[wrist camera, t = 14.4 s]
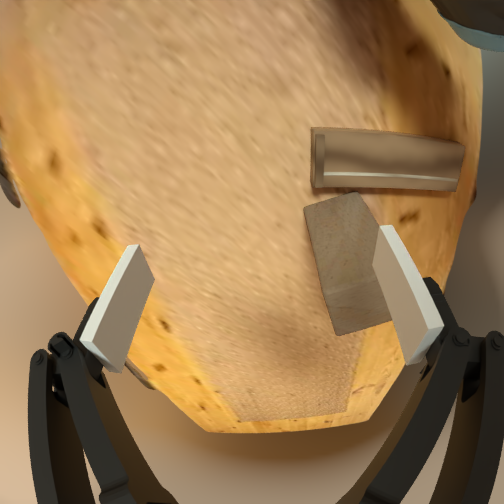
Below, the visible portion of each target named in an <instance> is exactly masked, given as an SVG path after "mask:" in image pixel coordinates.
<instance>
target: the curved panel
mask: <svg viewBox="0 0 504 504" xmlns="http://www.w3.org/2000/svg"><path fill="white" fill-rule="evenodd" d="M464 152H465V146H464V145H462V144H460V143H459V142H455V141H450V140H445V139H439V138H434V137H427V136H421V135H414V134H406V133H398V132H389V131H379V130H367V129H351V128H327V127H311V175H310V181H311V184H312V186H313V187H315V188H323V187H373V188H403V189H423V190H438V191H451V192H456V189H457V185H458V180H459V176H460V172H461V167H462V162H463V157H464Z"/></svg>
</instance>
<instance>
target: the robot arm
mask: <svg viewBox="0 0 504 504" xmlns="http://www.w3.org/2000/svg"><path fill="white" fill-rule="evenodd" d="M430 1H431V2H432V3H433V5H434V6H435V7H436V8H437V11H438V13H439V14H440V16H441V17H442V18H444V19H445V20H446V21H447V22H448V23H449V25H450V26H451V27H452V29H453V30H454V31H455V33H456V34H457V35H458V36H459V37H460V38H461V39H463V40H464V41H465V42H467V43H468V44H470V45H472V46H474V47H477V48H480V49H484V50H489V51H496V52H504V0H430ZM372 266H373V268H374V271H375V274H376V276H377V279H378V281H379V284H380V286H381V289H382V292H383V295H384V297H385V300H386V303H387V306H388V308H389V311H390V314H391V317H392V320H393V323H394V326H395V329H396V332H397V336H398V339H399V342H400V345H401V349H402V352H403V355H404V359H405V362H406V365H410V364H414V363H419V362H421V361H422V359H423V358H424V357H425V355H426V358H427V364H426V365H425V366H424V368H423V369H422V371H421V372H420V374H421V377H420V379H419V381H418V383H417V385H416V387H415V389H414V391H413V393H412V395H411V397H410V399H409V401H408V403H407V405H406V407H405V409H404V410H403V413H402V414H401V416H400V418H399V419H398V421H397V423H396V425H395V426H394V428H393V430H392V431H391V433H390V435H389V436H388V438H387V439H386V441H385V442H384V444H383V446H382V447H381V449H380V450H379V452H378V453H377V455H376V456H375V457H374V459H373V460H372V462H371V463H370V465H369V466H368V467H367V469H366V470H365V471H364V473H363V474H362V475H361V477H360V478H359V479H358V481H357V482H356V483H355V485H354V486H353V487H352V488H351V489H350V490H349V491H348V492H347V493H346V494H345V495H344V496H343V497H342V498H341V499H340V500H339V501H338V502H337V503H336V504H400V503H401V501H402V499H403V498H404V497H405V495H406V494H407V492H408V491H409V489H410V487H411V486H412V484H413V483H414V481H415V480H416V478H417V476H418V475H419V473H420V471H421V470H422V468H423V466H424V465H425V463H426V461H427V459H428V457H429V455H430V453H431V452H432V450H433V448H434V446H435V444H436V442H437V440H438V438H439V436H440V434H441V431H442V429H443V427H444V425H445V423H446V420H447V418H448V416H449V413H450V411H451V408H452V406H453V403H454V401H455V398H456V396H457V393H458V396H457V402H456V409H455V415H454V420H453V425H452V430H451V435H450V439H449V443H448V447H447V451H446V455H445V458H444V462H443V466H442V469H441V472H440V475H439V478H438V481H437V484H436V487H435V490H434V492H433V495H432V498H431V500H430V503H429V504H488V502H489V499H490V496H491V493H492V489H493V486H494V482H495V478H496V474H497V470H498V466H499V461H500V457H501V451H502V445H503V440H504V336H503V335H502V334H501V333H500V332H498V331H491V332H489V333H488V334H487V336H486V337H485V338H484V337H474V336H471V335H470V334H469V333H468V331H466V330H465V329H464V328H461V327H459V326H458V324H457V322H456V320H455V318H454V316H453V313H452V311H451V309H450V307H449V305H448V303H447V301H446V299H445V297H444V295H443V294H442V291H441V289H440V287H439V285H438V284H437V283H436V282H435V281H434V280H433V279H432V278H431V277H426V278H422V277H421V275H420V273H419V271H418V269H417V268H416V266H415V264H414V262H413V260H412V258H411V257H410V255H409V253H408V251H407V249H406V248H405V246H404V244H403V242H402V241H401V239H400V237H399V236H398V234H397V232H396V231H395V229H394V227H393V226H392V225H383V226H379V231H378V237H377V243H376V248H375V253H374V259H373V264H372ZM154 280H155V279H154V277H153V274H152V272H151V270H150V268H149V266H148V264H147V261H146V259H145V257H144V255H143V252H142V250H141V248H140V245H139V244H137V245H128V246H127V248H126V250H125V251H124V253H123V255H122V257H121V258H120V260H119V262H118V264H117V266H116V267H115V269H114V271H113V273H112V275H111V277H110V278H109V280H108V282H107V284H106V286H105V288H104V290H103V292H102V294H101V296H100V297H96V298H95V299H94V300H93V302H92V303H91V304H90V305H89V307H88V309H87V311H86V314H85V315H84V317H83V320H82V322H81V324H80V326H79V328H78V330H77V332H76V334H75V337H74V339H73V341H72V339H71V338H70V337H69V336H68V335H67V334H66V333H64V332H59V333H56V334H55V335H54V336H53V337H52V338H51V339H50V341H49V343H48V350H49V351H50V352H51V353H52V354H49V353H47V351H46V350H44V349H39V350H38V351H36V352H35V353H34V354H33V356H32V358H31V362H30V373H29V388H28V434H29V447H30V448H29V449H30V459H31V468H32V474H33V481H34V487H35V492H36V497H37V502H38V504H95V500H94V496H93V493H92V489H91V485H90V481H89V477H88V472H87V468H86V463H85V458H84V452H85V454H86V457H87V459H88V461H89V464H90V466H91V468H92V471H93V473H94V475H95V477H96V479H97V481H98V483H99V485H100V488H101V493H100V495H99V501H100V503H101V504H178V502H177V501H176V500H175V498H174V497H173V496H172V495H171V494H170V493H169V492H168V491H167V490H166V489H164V488H163V487H162V486H161V485H160V483H159V482H158V480H157V478H156V477H155V475H154V474H153V472H152V470H151V469H150V467H149V465H148V464H147V462H146V460H145V459H144V457H143V455H142V453H141V452H140V450H139V448H138V446H137V444H136V443H135V441H134V439H133V437H132V435H131V433H130V431H129V429H128V427H127V425H126V423H125V421H124V419H123V417H122V415H121V413H120V410H119V408H118V406H117V404H116V401H115V399H114V397H113V394H112V392H111V389H110V387H109V385H108V382H107V380H106V377H105V374H104V373H103V372H102V368H103V366H104V367H105V368H106V369H107V370H108V371H110V372H115V373H122V370H123V367H124V364H125V361H126V357H127V354H128V351H129V348H130V345H131V342H132V339H133V337H134V334H135V331H136V328H137V325H138V322H139V320H140V317H141V314H142V311H143V309H144V306H145V303H146V301H147V298H148V296H149V293H150V290H151V288H152V285H153V283H154ZM52 386H53V387H54V392H53V391H52ZM83 449H84V452H83Z"/></svg>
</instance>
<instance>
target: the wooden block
mask: <svg viewBox="0 0 504 504" xmlns="http://www.w3.org/2000/svg"><path fill="white" fill-rule="evenodd" d="M304 214H305V218H306V222H307V226H308V230H309V234H310V239H311V243H312V247H313V251H314V256H315V260H316V265H317V269H318V274H319V278H320V283H321V288H322V293H323V296H324V299H325V302H326V305H327V308H328V311H329V315H330V318H331V321H332V324H333V328H334V331H335V334H336V335H337V336H341V335H345V334H349V333H352V332H356V331H359V330H362V329H366V328H369V327H372V326H376V325H379V324H382V323H385V322H388V321H391V320H392V317H391V314H390V311H389V308H388V306H387V303H386V300H385V297H384V295H383V292H382V289H381V286H380V284H379V281H378V279H377V276H376V274H375V271H374V268H373V266H372V264H373V259H374V253H375V248H376V243H377V237H378V231H379V225H378V223H377V221H376V220H375V218H374V217H373V215H372V213H371V212H370V210H369V208H368V207H367V205H366V204H365V202H364V201H363V199H362V197H361V196H360V194H359V193H358V192H357V191H354V192H351V193H348V194H345V195H341V196H338V197H335V198H332V199H328V200H325V201H322V202H319V203H315V204H312V205H309V206H306V207H304Z"/></svg>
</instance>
